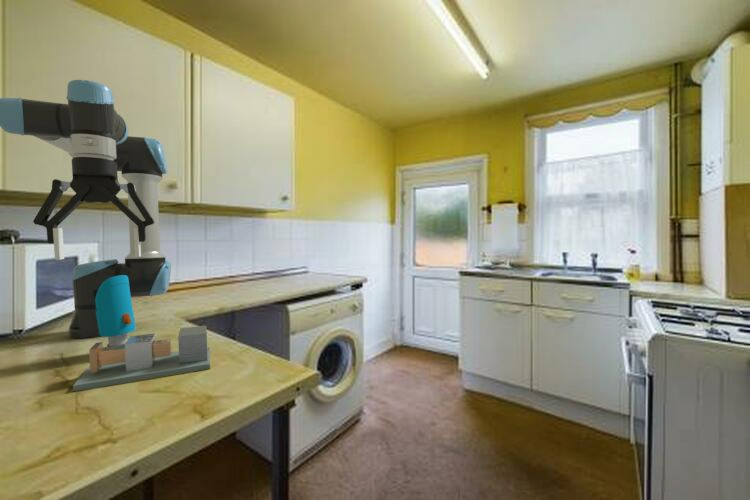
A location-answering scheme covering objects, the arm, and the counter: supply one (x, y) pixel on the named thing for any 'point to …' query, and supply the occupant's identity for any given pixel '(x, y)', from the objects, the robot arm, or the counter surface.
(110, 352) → the bolt
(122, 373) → the board
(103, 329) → the security camera
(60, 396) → the counter surface
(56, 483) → the counter surface
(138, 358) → the sleeve
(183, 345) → the socket
